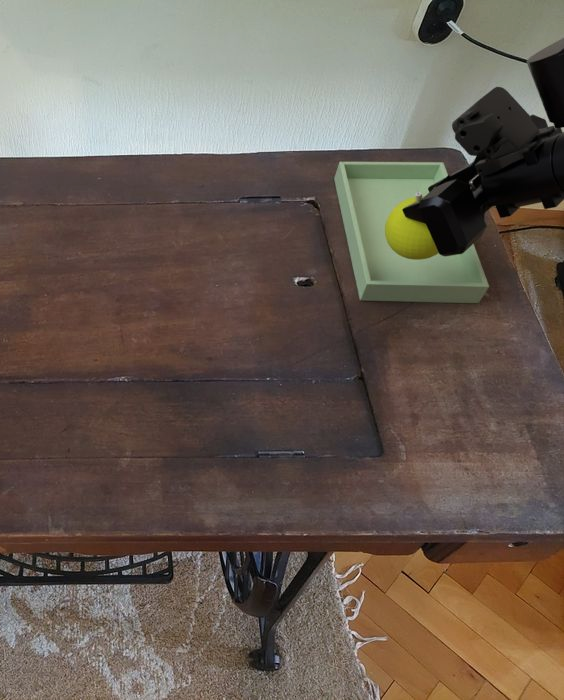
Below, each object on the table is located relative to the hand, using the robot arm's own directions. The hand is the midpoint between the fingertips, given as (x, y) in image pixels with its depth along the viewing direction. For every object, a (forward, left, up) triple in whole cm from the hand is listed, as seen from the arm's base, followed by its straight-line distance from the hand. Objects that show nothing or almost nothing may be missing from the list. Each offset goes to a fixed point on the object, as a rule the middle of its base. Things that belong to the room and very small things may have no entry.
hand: (417, 201), depth 72 cm
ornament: (-1, +1, -7) cm, 7 cm away
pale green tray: (-4, -8, -13) cm, 16 cm away
